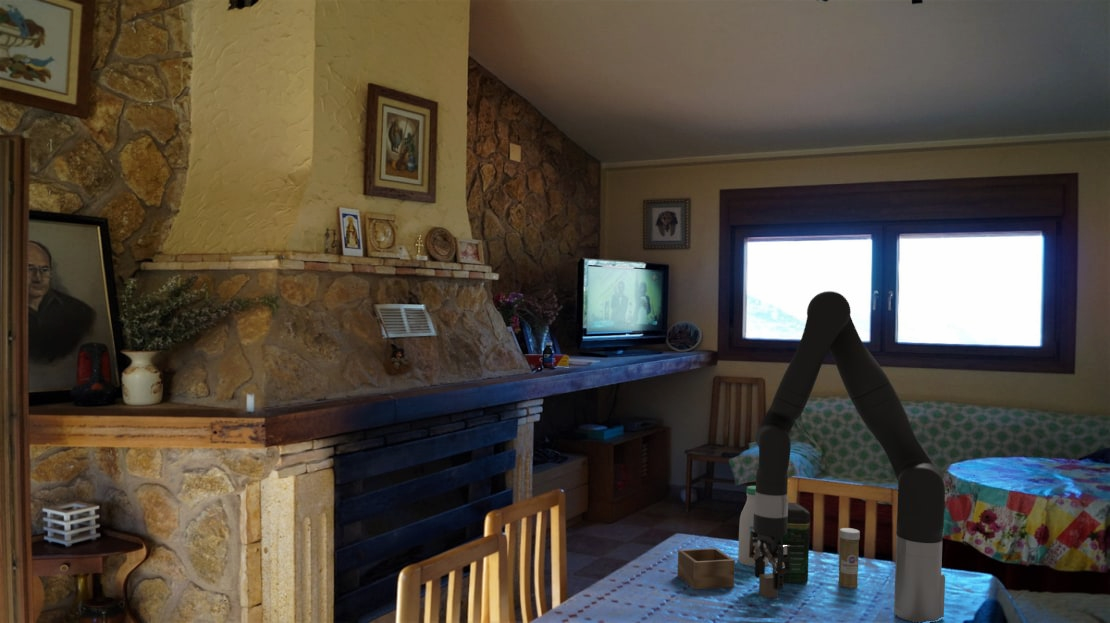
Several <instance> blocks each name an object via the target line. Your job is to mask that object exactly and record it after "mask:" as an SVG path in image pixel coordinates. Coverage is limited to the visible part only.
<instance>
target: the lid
mask: <svg viewBox="0 0 1110 623" xmlns="http://www.w3.org/2000/svg"><path fill="white" fill-rule="evenodd" d="M758 579H759V580H758V585H759V586H758V594H759V595H760V596H762V597H763V598H764V599H775V598H778V591H779V590H775V589H773V573H765V574H759V578H758ZM798 604H799V605H800V606H802V604H801V603H798Z"/></svg>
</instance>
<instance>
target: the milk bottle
mask: <svg viewBox="0 0 1110 623" xmlns="http://www.w3.org/2000/svg"><path fill="white" fill-rule="evenodd" d="M755 492H756V485H749V486H746V502H745V504H744V507H743V509H742V511H741V513H740V516H739V526H738V528H739V529H738V551H737V552H738V553H737V554H738V556H737V558H738V559H737V560H738V563H740V564H742V565H745V566H750V567H755V561H754V559H753V556H751V555H750V537H751V531H754V530H753V521H754V499H755ZM755 548H756V546H754V550H755ZM763 561H765V567H766V566H769V565H770V563H769V560H768V558H767V557H766V558H765V560H763Z"/></svg>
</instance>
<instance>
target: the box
mask: <svg viewBox="0 0 1110 623" xmlns="http://www.w3.org/2000/svg"><path fill="white" fill-rule="evenodd" d="M735 561H736V560H735V559H734V558H732V557H731V556H729V555H728V554H726V553H724V552H723V551H722V550H720V549H718V548H717V547H714V548H713V547H712V548H708V547H707V548H695V549H694V548H692V549H691V548H690V549H678V550H677V577H678V578H680V580H682V581H684V583H686V584H687V585H688V586H689V587H690V588H692V589H693V590H707V589H721V588H723V589H724V588H735V572H736V571H735V569H736V568H735V566H736V565H735V564H736V562H735Z"/></svg>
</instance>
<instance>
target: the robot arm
mask: <svg viewBox="0 0 1110 623" xmlns="http://www.w3.org/2000/svg"><path fill="white" fill-rule="evenodd" d="M851 314H852V313H851V306H850V302H849V301H848V300H847V298H846V297H845V296H844V295H842V294H841V293H839V292H837V291H834V290H833V291H832V290H828V291H822V292H820V293H817V294H816V295H815V296H814V297H812V299H811V300H810V301H809V303H808V306H807V309H806V321H805V324H804V329H803V332H802V335H801V339H800V340H799V344H798V347H797V349H796V351H795V352H794V355H793V357H792V359H791V360H790V363H789V365H788V367H787V369H786V370H785V372H784V374H783V375H782V379H781V380H780V383H779V385H778V387H777V388H776V389H777V390H776V392H775V394H774V397H773V399H772V403H771V405H770V407H769V408H768V410H767V411H766V414H765V415H764V417H763V418H762V420H761V422H760V424H759V426H758V429H757V430H756V435H755V442H756V445H757V446H758V467H757V470H756V475H755V486H756V492H755V499H754V521H753V530H754V531H751V537H750V555H751V556H753V559H754V561H755V566H754V577H755V578H757V579H759V574H766V572H765V571H766V570H765V569H766V566H765V561H763V560H765V558H766V557H767V558H768V560H769V565H771V566H772V574H773V589H775V590H778V591H781V590H784V585H785V584H784V573H789V572H790V546H789V545H783V544H782V537H783V536H784V535H786V534H787V524H788V503H789V499H788V498H789V497H788V485H789V484H788V483H789V482H788V470H789V466H790V459H791V458H790V457H791V448H792V445H791V444H792V443H791V436H790V433H791V431H792V429H793V426H794V425H795V422H796V421H797V420H798V419H799V418H800V417H801V416H802V414H803V412H804V410H805V408H806V406H807V403H808V401H809V398H810V396H811V393H812V392H813V389H814V386H815V383H816V381H817V379H818V376H819V373H820V370H821V368H822V365H823V363H824V360H825V358H826V356H827V355H828V352H829V354H831V357H832V358H833V361H834V364H835V366H836V368H837V371H838V373H839V375H840V378H841V381H842V383H843V386H844V388H845V390H846V392H847V394H848V396H849V399H850V400H851V402H852V405H853V406H854V407H855V410H856V411H857V413H858V415H859V417H860V419H861V420H862V421H863V423H864V424H865V426H866V428H867V429H868V430H869V431H870V433H871V434H872V435H873V437H874V438H875V439H876V440H877V442H878V443H879V444H880V446H881V448H882V449H883V450H884V452H885V454H886V456H887V459H888V461H889V463H890V465H891V467H892V469H893V472H894V474H895V478H896V481H897V505H896V506H897V511H896V512H897V513H896V531H895V532H896V534H895V535H896V538H895V541H896V542H895V564H894V565H895V566H894V568H895V569H894V570H895V571H894V572H895V573H894V598H893V600H894V602H893V614H894V615H895V616H896V615H897V616H896V617H898V618H900V619H902V620H904V619H905V620H904V621H907V620H909V621H908V622H911V621H915V622H914V623H917V622H926V621H935V620H938V619H939V618H941V617H944V618H945V594H946V593H945V592H946V575H945V574H943V573H942V566H943V565H942V564H943V562H942V559H943V558H942V557H943V537H944V534H943V533H944V526H945V525H944V524H945V523H944V522H945V506H946V505H945V504H946V502H945V500H946V486H945V482H944V479H943V476H942V474H941V472H940V470H939V469H938V468H937V467H936V466H935V463H933V461H932V459H930V457H929V456H928V455H927V453H926V451H925V450H924V448H923V446H922V445H921V444H920V442H919V441H918V439H917V437H916V435H915V433H914V430H913V428H912V426H911V423H910V421H909V417H908V415H907V413H906V410H905V408H904V406H903V404H902V402H901V400H900V398H899V396H898V394H897V392H896V390H895V388H894V386H893V384H892V383H891V381H890V379H889V377H888V376H887V374H886V373H885V371H884V370H883V368H882V367H881V365H880V364H879V363H878V361H877V360H876V358H875V357H874V356H873V355H872V353H871V352H870V351H869V350H868V348H867V346H866V345H865V344H864V342H863V341H862V339H861V337H860V335H859V333H858V330H857V327H856V326H855V324H854V322H853V318H852V316H851ZM754 546H756V548H755V550H754ZM777 557H778V558H777ZM774 558H776V559H774ZM784 562H786V567H785V565H784ZM776 563H778V568H777V565H776ZM773 571H774V573H773Z"/></svg>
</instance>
